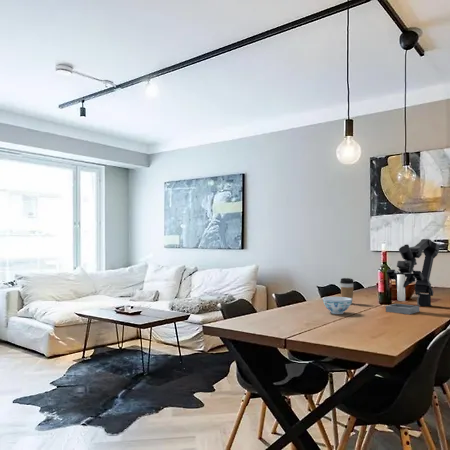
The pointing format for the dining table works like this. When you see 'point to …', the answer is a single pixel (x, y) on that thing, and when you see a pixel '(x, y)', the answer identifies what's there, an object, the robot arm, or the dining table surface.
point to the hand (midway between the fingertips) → (400, 286)
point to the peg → (400, 287)
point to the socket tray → (402, 308)
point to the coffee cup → (347, 288)
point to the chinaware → (337, 304)
